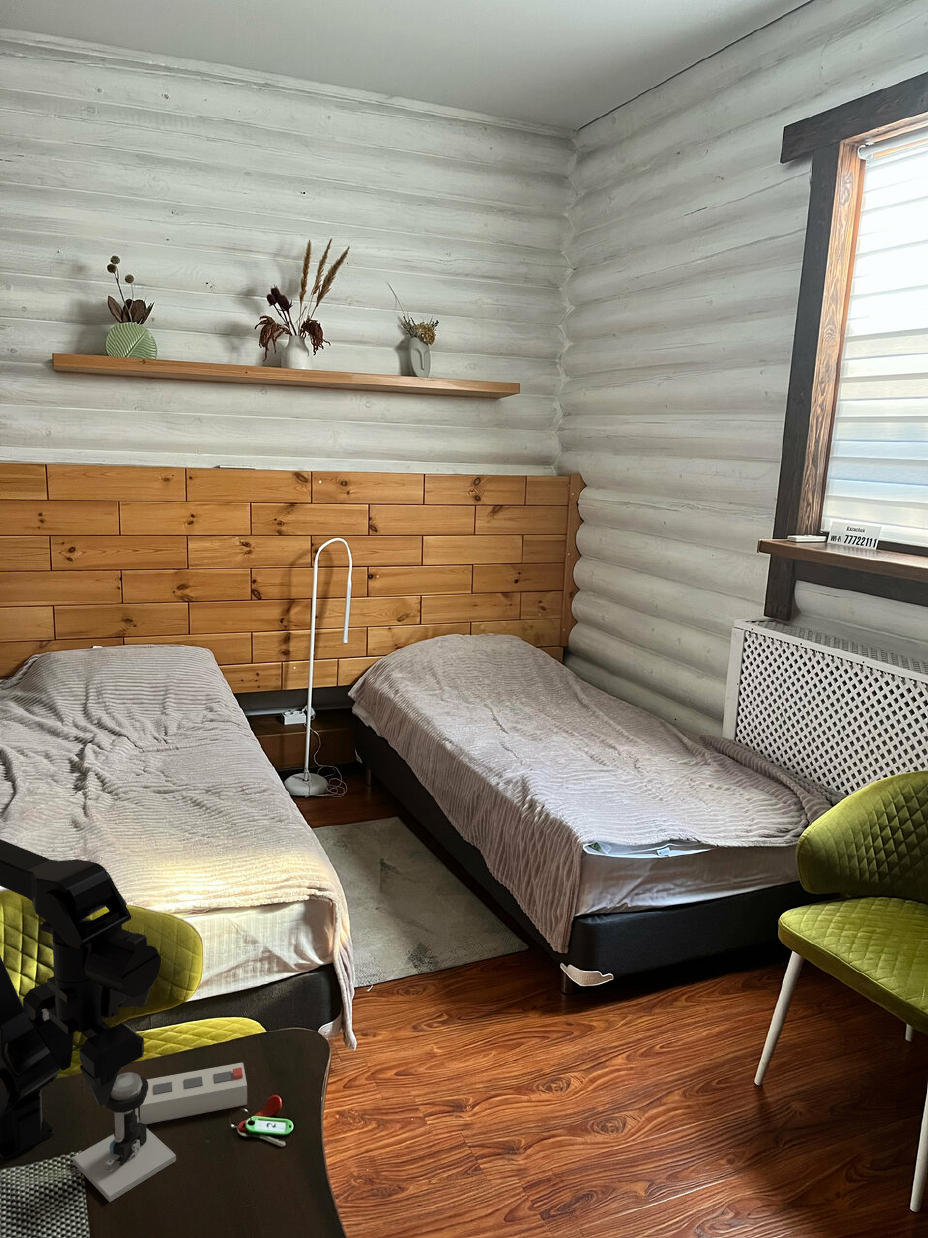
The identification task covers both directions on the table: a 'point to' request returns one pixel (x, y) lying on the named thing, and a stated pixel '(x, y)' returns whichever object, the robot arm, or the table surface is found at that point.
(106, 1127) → the table surface
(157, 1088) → the power strip
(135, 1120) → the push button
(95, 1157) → the rubber mat
